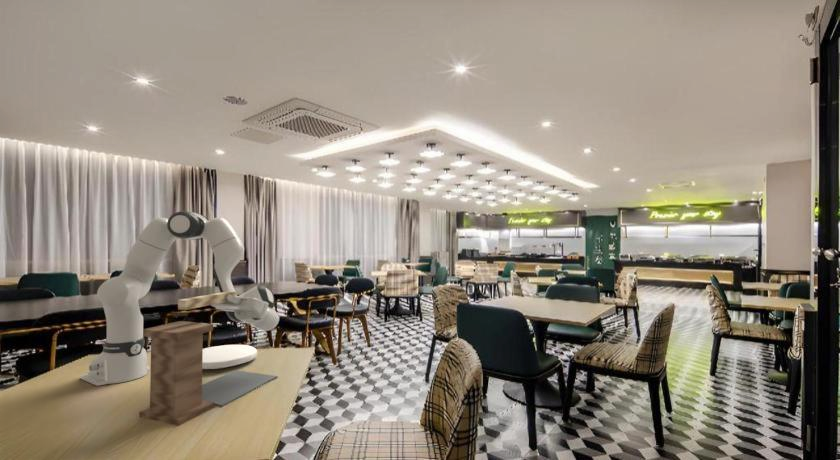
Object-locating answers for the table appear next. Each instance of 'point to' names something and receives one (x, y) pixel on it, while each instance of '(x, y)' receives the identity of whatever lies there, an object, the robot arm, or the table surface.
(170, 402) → the stand
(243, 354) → the plate
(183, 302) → the rod
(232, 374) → the mat
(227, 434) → the table surface
